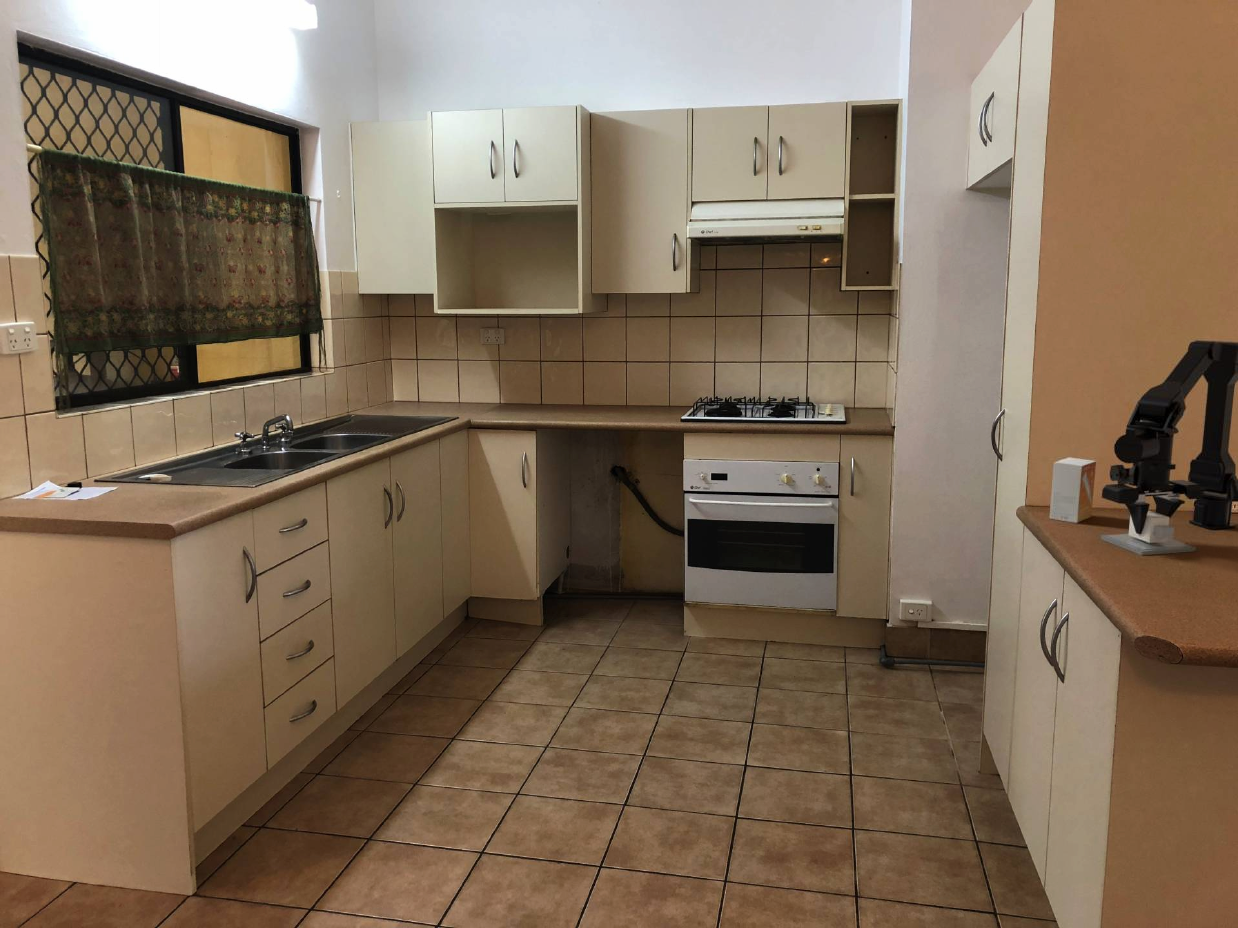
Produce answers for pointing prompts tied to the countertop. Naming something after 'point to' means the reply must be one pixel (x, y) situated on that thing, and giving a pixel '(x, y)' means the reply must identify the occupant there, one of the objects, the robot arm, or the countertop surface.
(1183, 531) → the countertop surface
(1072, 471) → the small box
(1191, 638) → the countertop surface
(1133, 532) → the connector
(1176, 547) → the plate
